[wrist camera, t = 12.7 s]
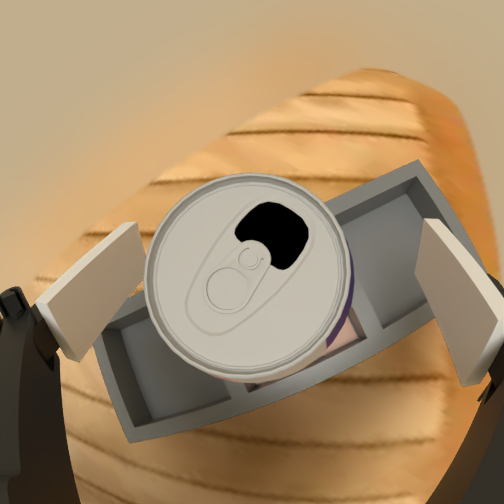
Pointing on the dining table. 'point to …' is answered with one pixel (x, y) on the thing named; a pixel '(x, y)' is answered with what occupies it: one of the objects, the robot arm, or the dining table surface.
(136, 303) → the compartment tray
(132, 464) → the dining table surface
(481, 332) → the robot arm
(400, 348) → the dining table surface
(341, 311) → the energy drink
